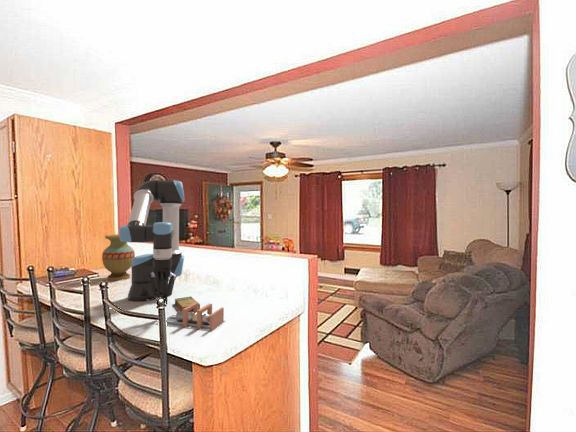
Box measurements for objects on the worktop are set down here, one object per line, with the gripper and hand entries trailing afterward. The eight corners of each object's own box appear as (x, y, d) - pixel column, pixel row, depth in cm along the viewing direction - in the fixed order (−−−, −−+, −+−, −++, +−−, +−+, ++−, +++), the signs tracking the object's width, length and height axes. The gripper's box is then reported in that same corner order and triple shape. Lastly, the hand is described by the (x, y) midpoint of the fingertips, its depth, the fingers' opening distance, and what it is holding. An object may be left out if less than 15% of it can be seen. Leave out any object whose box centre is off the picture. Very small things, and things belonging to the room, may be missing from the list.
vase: (116, 282, 197) (116, 237, 196) (95, 280, 204) (95, 235, 203) (141, 276, 215) (141, 234, 215) (120, 274, 222) (120, 233, 222)
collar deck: (154, 327, 124) (154, 307, 124) (172, 317, 136) (172, 299, 136) (211, 334, 118) (211, 313, 117) (225, 323, 129) (225, 304, 129)
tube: (175, 321, 126) (176, 311, 127) (180, 320, 130) (181, 310, 131) (209, 325, 122) (210, 315, 123) (214, 324, 126) (215, 314, 127)
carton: (182, 316, 138) (182, 306, 138) (174, 306, 152) (174, 298, 152) (200, 312, 143) (200, 303, 143) (191, 303, 156) (191, 295, 156)
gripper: (143, 258, 128) (143, 313, 129) (170, 260, 125) (170, 316, 126) (155, 255, 135) (155, 307, 136) (181, 257, 132) (180, 310, 133)
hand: (162, 312), depth 131 cm, fingers closed
